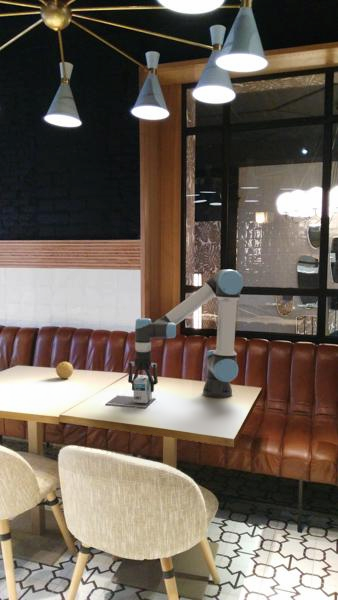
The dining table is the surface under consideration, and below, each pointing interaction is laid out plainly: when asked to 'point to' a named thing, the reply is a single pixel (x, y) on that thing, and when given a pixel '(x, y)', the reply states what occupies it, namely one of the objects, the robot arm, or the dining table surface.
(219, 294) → the robot arm
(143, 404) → the mat
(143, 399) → the light bulb box
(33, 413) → the dining table surface
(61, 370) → the stress ball
